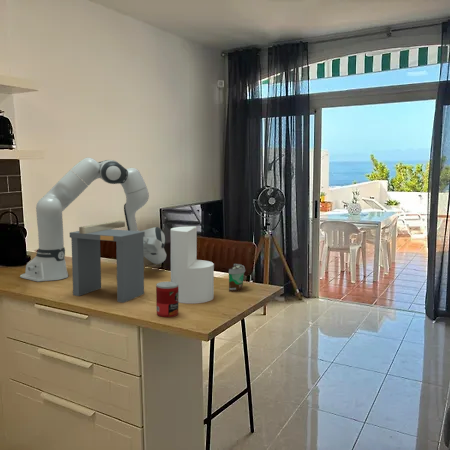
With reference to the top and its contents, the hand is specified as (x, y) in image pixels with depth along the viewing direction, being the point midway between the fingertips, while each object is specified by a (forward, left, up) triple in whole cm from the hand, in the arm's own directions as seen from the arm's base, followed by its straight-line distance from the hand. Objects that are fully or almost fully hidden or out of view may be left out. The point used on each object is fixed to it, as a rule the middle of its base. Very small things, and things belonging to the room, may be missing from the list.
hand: (131, 235), depth 208 cm
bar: (0, -20, +5) cm, 20 cm away
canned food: (+41, -37, -21) cm, 59 cm away
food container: (+51, +6, -21) cm, 56 cm away
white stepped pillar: (+39, -14, -21) cm, 46 cm away
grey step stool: (+6, -25, -21) cm, 33 cm away
